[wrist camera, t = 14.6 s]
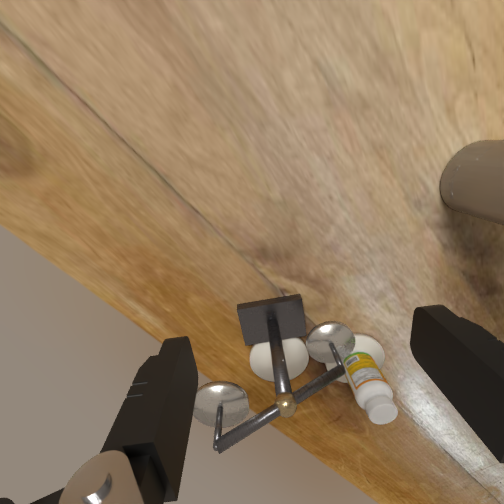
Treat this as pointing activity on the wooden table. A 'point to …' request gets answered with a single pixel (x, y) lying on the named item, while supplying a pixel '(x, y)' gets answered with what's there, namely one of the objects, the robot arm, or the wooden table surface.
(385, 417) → the supplement bottle
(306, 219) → the wooden table surface
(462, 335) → the robot arm
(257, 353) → the dish high side
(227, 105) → the wooden table surface
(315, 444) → the wooden table surface
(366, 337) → the dish low side
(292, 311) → the balance
